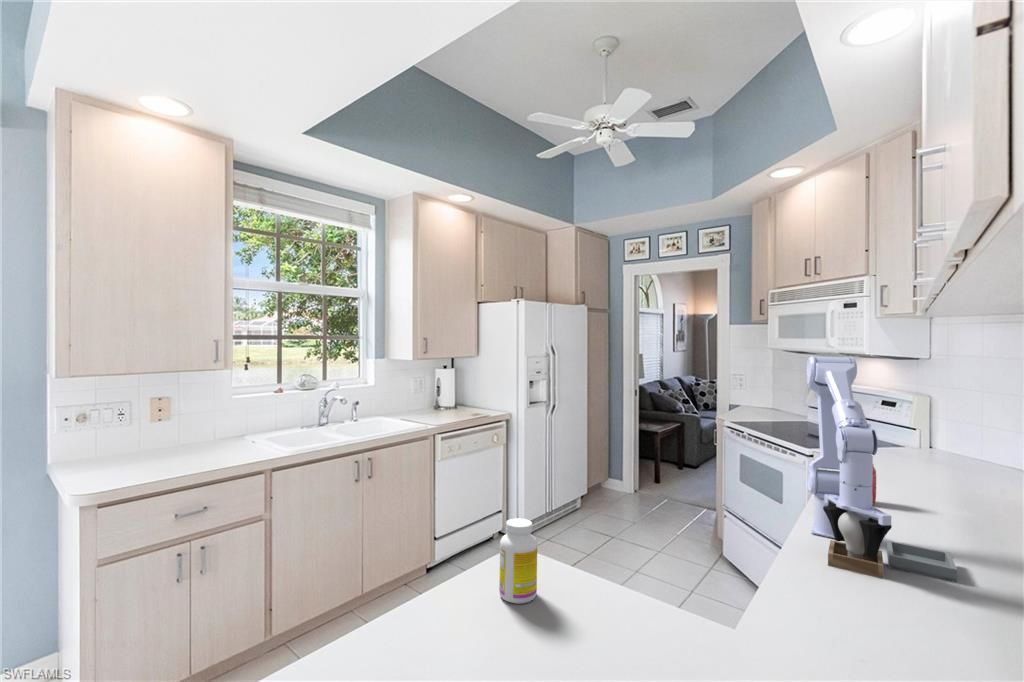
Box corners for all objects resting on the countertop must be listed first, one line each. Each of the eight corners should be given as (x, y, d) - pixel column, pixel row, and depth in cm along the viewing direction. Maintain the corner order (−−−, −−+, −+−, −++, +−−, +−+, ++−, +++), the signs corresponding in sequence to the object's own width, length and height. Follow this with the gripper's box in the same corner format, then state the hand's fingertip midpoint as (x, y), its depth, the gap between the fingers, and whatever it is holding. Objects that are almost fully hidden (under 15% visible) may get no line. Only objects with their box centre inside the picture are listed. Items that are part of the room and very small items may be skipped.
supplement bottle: (543, 593, 86) (545, 521, 86) (523, 609, 80) (525, 532, 80) (512, 582, 89) (514, 513, 90) (491, 597, 84) (493, 523, 84)
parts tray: (886, 551, 109) (886, 540, 109) (949, 564, 102) (949, 552, 103) (888, 567, 100) (888, 555, 100) (957, 582, 94) (957, 569, 94)
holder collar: (830, 551, 108) (830, 540, 108) (881, 562, 102) (881, 550, 102) (827, 565, 100) (827, 553, 100) (883, 578, 95) (883, 565, 95)
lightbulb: (839, 566, 100) (840, 513, 100) (835, 555, 106) (836, 505, 106) (875, 573, 97) (876, 518, 98) (870, 561, 103) (870, 510, 103)
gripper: (812, 474, 108) (812, 535, 108) (869, 493, 94) (869, 563, 94) (840, 474, 109) (839, 534, 109) (900, 493, 95) (900, 562, 95)
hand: (855, 547), depth 101 cm, fingers open, 7 cm apart
